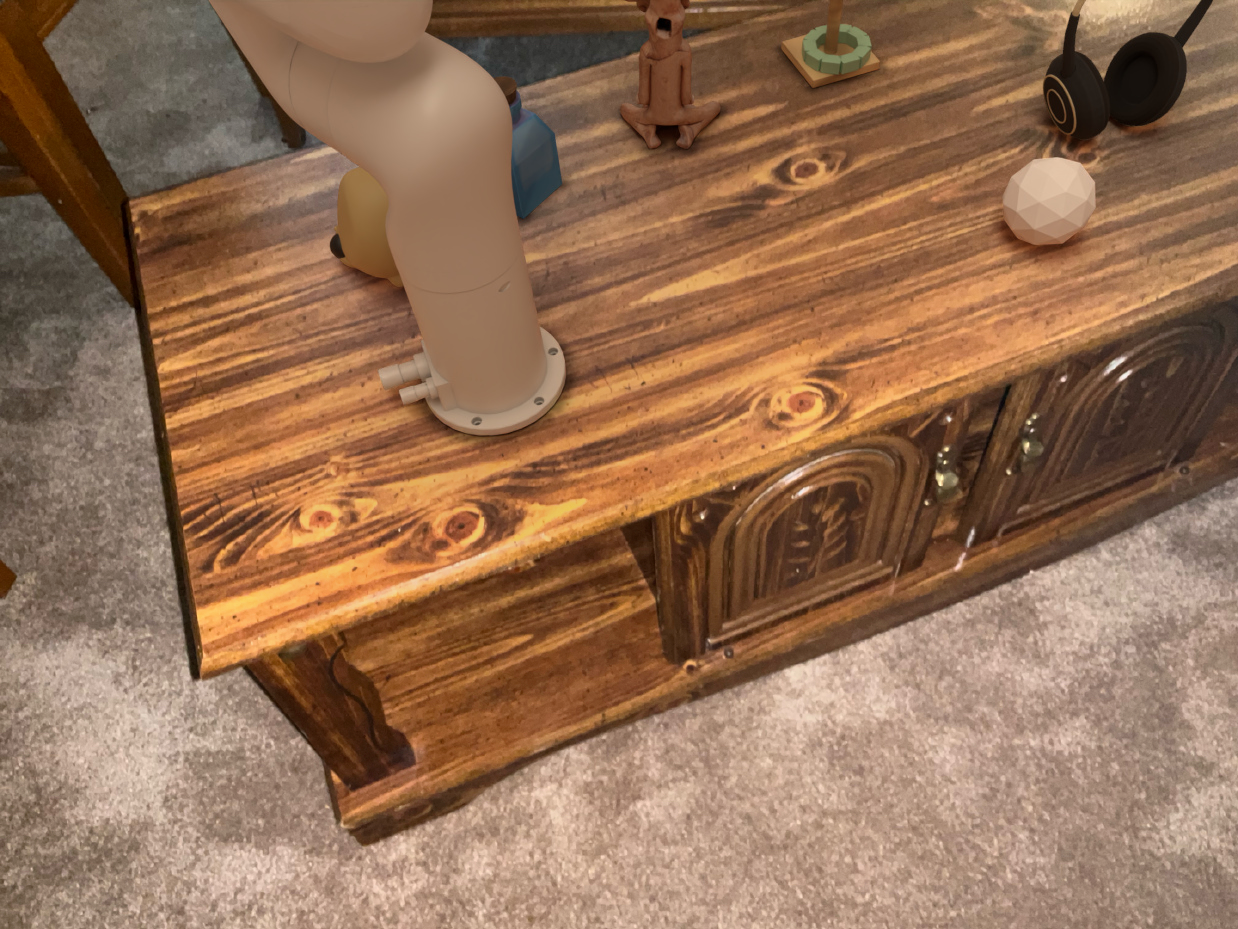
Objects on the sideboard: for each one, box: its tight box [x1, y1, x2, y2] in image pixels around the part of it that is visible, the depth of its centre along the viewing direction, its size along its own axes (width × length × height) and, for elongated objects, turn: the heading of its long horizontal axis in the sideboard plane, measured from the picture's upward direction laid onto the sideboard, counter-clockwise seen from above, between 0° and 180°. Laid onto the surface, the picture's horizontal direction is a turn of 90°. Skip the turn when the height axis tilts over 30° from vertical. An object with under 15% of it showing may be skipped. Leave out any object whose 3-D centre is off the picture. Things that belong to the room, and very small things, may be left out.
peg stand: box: [780, 0, 881, 89], centre depth 102 cm, size 8×8×11 cm
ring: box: [802, 23, 873, 75], centre depth 105 cm, size 7×7×1 cm
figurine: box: [619, 0, 721, 150], centre depth 94 cm, size 10×8×20 cm
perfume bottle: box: [492, 75, 563, 220], centre depth 93 cm, size 6×6×12 cm
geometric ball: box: [1002, 156, 1097, 246], centre depth 86 cm, size 8×8×8 cm
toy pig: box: [329, 166, 404, 288], centre depth 90 cm, size 10×12×11 cm
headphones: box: [1042, 0, 1214, 141], centre depth 89 cm, size 9×15×20 cm, turn 105°
